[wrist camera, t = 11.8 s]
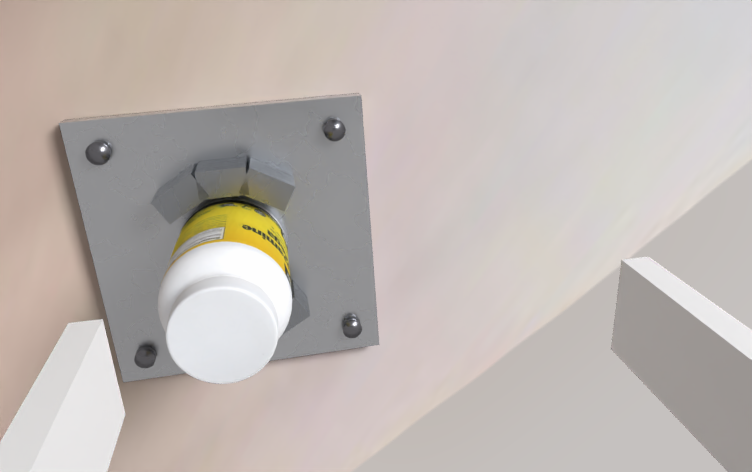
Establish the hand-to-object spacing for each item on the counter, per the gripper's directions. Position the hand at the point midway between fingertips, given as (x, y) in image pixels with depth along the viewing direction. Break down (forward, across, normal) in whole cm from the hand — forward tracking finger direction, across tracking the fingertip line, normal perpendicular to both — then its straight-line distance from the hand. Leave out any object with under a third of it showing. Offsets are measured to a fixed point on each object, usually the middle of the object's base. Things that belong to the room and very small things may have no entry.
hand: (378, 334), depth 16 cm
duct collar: (+22, -5, -6) cm, 23 cm away
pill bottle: (+21, -5, -6) cm, 23 cm away
